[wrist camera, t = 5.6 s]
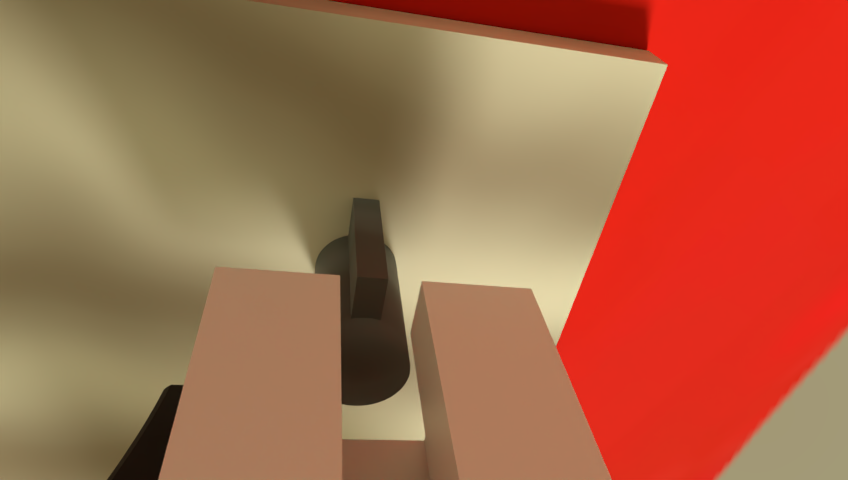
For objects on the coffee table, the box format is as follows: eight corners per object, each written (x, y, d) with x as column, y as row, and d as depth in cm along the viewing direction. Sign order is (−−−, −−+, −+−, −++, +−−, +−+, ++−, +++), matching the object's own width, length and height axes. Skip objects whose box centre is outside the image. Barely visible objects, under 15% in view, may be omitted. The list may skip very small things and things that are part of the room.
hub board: (486, 482, 23) (516, 610, 19) (-223, 478, 18) (-365, 645, 15) (648, 50, 14) (760, 132, 10) (-613, -148, 10) (-1197, -131, 6)
